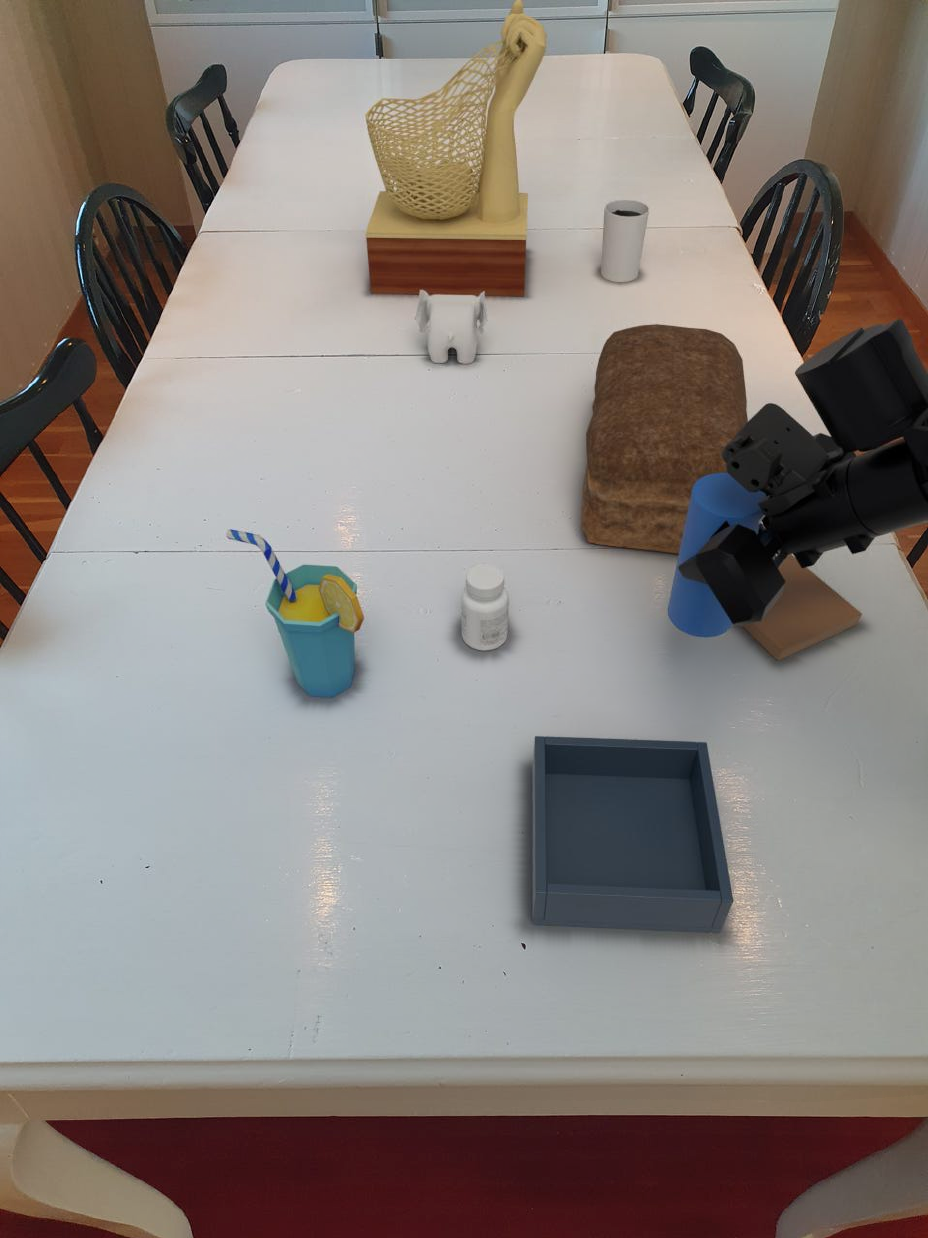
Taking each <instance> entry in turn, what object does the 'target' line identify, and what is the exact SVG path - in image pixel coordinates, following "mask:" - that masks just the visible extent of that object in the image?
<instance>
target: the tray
mask: <svg viewBox="0 0 928 1238" xmlns="http://www.w3.org/2000/svg"><path fill="white" fill-rule="evenodd" d="M712 771H713V770H712V765H711V759H710V755H709V749H708V743H707V742H706V741H686V740H661V739H659V740H654V739H632V738H631V739H630V738H629V739H627V738H602V737H601V738H600V737H577V736H576V737H575V736H549V735H547V736H543V735H542V736H541V735H535V736H534V743H533V757H532V769H531V772H532V773H531V777H532V778H531V817H532V818H531V826H532V827H531V832H532V833H531V835H532V836H531V840H532V841H531V843H532V844H531V846H532V847H531V851H532V852H531V856H532V857H531V871H532V873H531V874H532V875H531V879H532V880H531V881H532V882H531V890H532V892H531V893H532V895H531V896H532V899H531V904H532V905H531V906H532V907H531V912H532V913H531V917H532V919H531V920H532V923H531V924H532V925H535V926H559V927H576V928H577V927H581V928H600V929H601V928H603V929H623V930H647V931H667V932H669V931H670V932H691V933H710V934H711V933H714V934H720V933H721V932H722V930H723V927H724V925H725V922H726V920H727V918H728V916H729V913H730V910H731V908H732V906H733V903H734V897H733V890H732V884H731V879H730V873H729V867H728V861H727V854H726V850H725V849H726V848H725V842H724V836H723V830H722V825H721V820H720V813H719V807H718V800H717V796H716V790H715V783H714V777H713V772H712Z"/></svg>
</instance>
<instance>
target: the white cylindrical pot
mask: <svg viewBox="0 0 928 1238" xmlns="http://www.w3.org/2000/svg"><path fill="white" fill-rule="evenodd" d="M603 210H604V211H603V225H602V245H601V247H602V248H601V262H600V263H601V264H600V265H601V267H600V275H601V277H602V278H603V279H605V280H607V281H611V282H614V283H627V282H632V281H634V280H636V279H637V278H639V277H638V276H639V270H640V265H641V259H642V254H643V248H644V242H645V237H646V230H647V226H648V219H649V213H650V207H649V205H648V204H646V203H644V202H642V201H639V200H633V199H616V200H612V201H608V203H606V204H605V205H604V209H603Z"/></svg>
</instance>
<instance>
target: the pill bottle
mask: <svg viewBox="0 0 928 1238" xmlns="http://www.w3.org/2000/svg"><path fill="white" fill-rule="evenodd" d="M509 605H510V596H509V593H508V590H507V589H506V587H505V574H504V571H503V570H502V569H501V568H500V567H499V566H497V565H495V564H490V563H478V564H475V565H473V566H471V567H470V568H469V569H468V570H467V572H466V575H465V587H464V588H463V590H462V591H461V596H460V615H461V616H460V617H461V619H460V621H461V623H460V624H461V638H462V639H463V642H464V643H465V644H466V645H467V646H469V647H470V648H472V649H474V650H478V651H491V650H495V649H497V648H499V647H501V646H502V645H503V644H504V643H505V642H506V640H507V638H508V633H509V632H508V630H509Z"/></svg>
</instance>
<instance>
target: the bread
mask: <svg viewBox="0 0 928 1238" xmlns="http://www.w3.org/2000/svg"><path fill="white" fill-rule="evenodd" d="M743 361H744V360H743V358H742V355H741V354H740V352H739V351H738V348H737V346H736V344H735V343H734V342H733V341H731V340H730V338H728V337H727V336H725V335H724V334H723V333H721V332H717V331H714V330H710V329H707V328H696V327H687V326H679V325H670V324H659V323H656V324H654V323H653V324H643V325H636V326H632V327H627V328H624V329H623V328H622V329H620V330H617V331H616V330H615V331H613V332H612V333H611V335H609V337H608V338H607V339H606V340H605V342H604V344H603V347H602V349H601V351H600V356H599V358H598V362H597V365H596V371H595V380H594V381H595V382H594V386H593V387H594V388H593V389H594V390H593V391H594V399H593V403H592V405H591V408H592V416H591V418H590V421H589V424H588V426H587V430H586V433H585V443H586V447H585V448H586V450H585V451H586V466H585V474H584V478H583V479H584V480H583V483H582V497H581V519H580V527H581V530H582V531H583V533H584V534H585V536H586V540H587V543H589V544H594V545H595V544H596V545H600V546H609V547H618V548H627V549H636V550H645V551H655V552H663V553H671V554H678V555H679V551H680V546H681V541H682V536H683V531H684V527H685V522H686V517H687V512H688V507H689V502H690V497H691V493H692V488H693V485H694V484H695V483H696V482H697V481H698V480H699V479H700V478H702V477H704V476H706V475H710V474H714V473H727V470H726V463H725V462H724V460H723V458H722V450H723V449H724V447H725V446H726V445H727V444H728V443H729V442H730V441H731V440H732V439H733V438H734V436H735V435H736V434H737V433H738V432H739V431H740V430H741V429H742V428H743V427H744V425H745V424H746V423H747V422H748V421H749V418H748V410H747V409H748V408H747V405H748V399H747V390H746V389H747V388H746V381H745V371H744V362H743Z"/></svg>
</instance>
